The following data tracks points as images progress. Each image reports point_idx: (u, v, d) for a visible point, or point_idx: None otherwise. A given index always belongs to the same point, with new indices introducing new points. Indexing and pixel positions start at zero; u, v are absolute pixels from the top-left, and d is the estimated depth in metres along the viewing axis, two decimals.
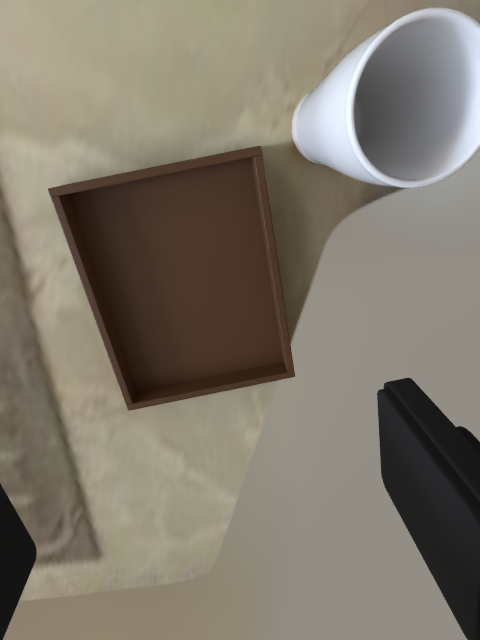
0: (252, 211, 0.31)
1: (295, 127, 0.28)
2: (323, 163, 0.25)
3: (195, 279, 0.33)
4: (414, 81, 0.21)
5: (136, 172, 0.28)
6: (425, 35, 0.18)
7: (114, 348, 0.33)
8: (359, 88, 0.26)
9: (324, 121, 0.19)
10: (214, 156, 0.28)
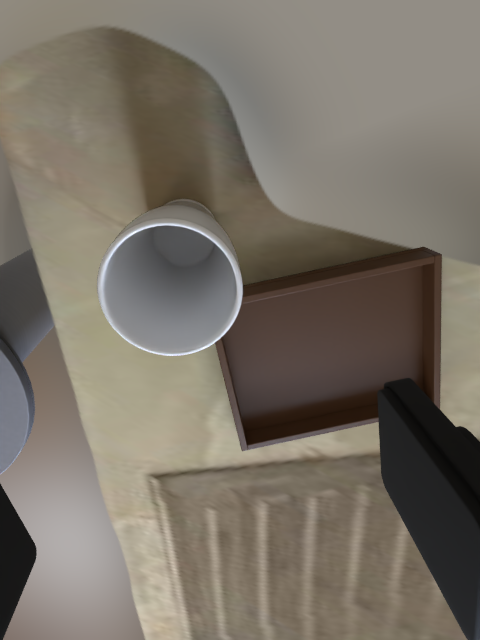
0: None
1: None
2: None
3: (321, 344, 0.36)
4: None
5: (229, 396, 0.35)
6: (113, 263, 0.20)
7: (375, 415, 0.37)
8: None
9: None
10: None
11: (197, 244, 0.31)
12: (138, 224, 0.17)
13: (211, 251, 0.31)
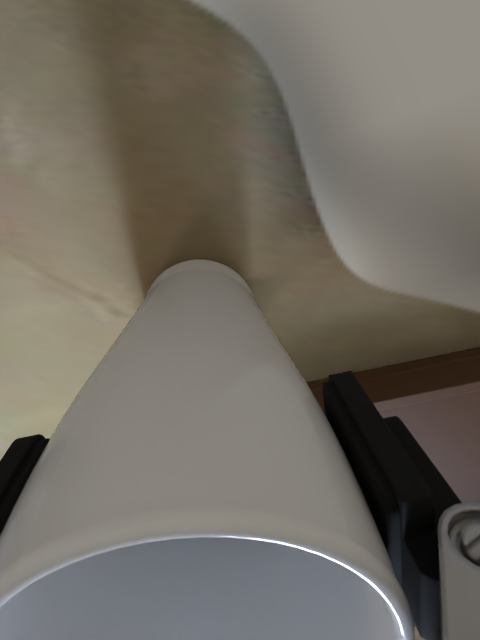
0: None
1: None
2: None
3: None
4: None
5: None
6: None
7: None
8: None
9: None
10: None
11: None
12: (80, 533, 0.05)
13: None
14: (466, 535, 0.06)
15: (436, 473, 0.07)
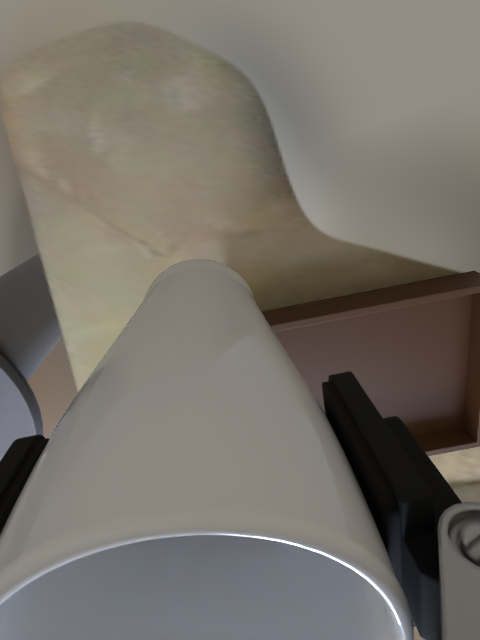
0: None
1: None
2: None
3: (355, 373, 0.33)
4: None
5: None
6: None
7: None
8: None
9: None
10: None
11: None
12: (81, 531, 0.05)
13: None
14: (466, 535, 0.06)
15: (436, 473, 0.07)
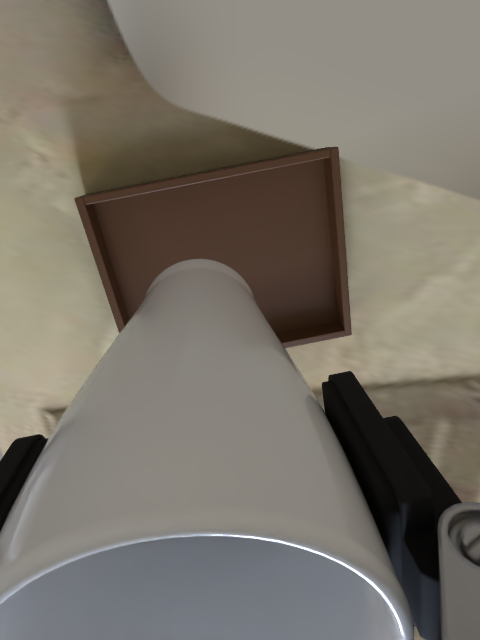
0: (145, 199, 0.30)
1: None
2: None
3: (218, 258, 0.33)
4: None
5: (113, 311, 0.32)
6: None
7: (281, 341, 0.34)
8: None
9: None
10: (90, 243, 0.29)
11: None
12: (79, 531, 0.04)
13: None
14: (466, 535, 0.06)
15: (436, 474, 0.07)
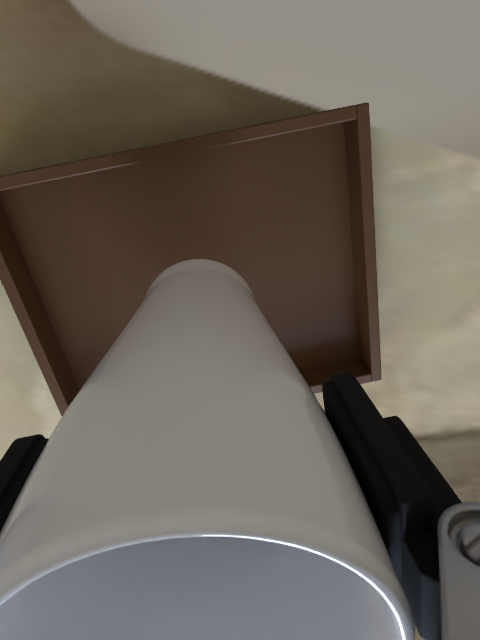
0: (77, 187, 0.20)
1: None
2: None
3: None
4: None
5: (35, 353, 0.22)
6: None
7: None
8: None
9: None
10: None
11: None
12: (79, 532, 0.04)
13: None
14: (466, 535, 0.06)
15: (436, 473, 0.07)
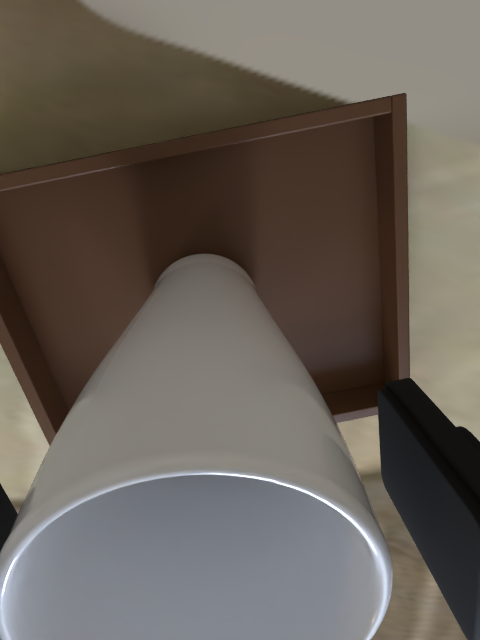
0: (67, 191, 0.18)
1: None
2: None
3: None
4: None
5: (19, 379, 0.19)
6: None
7: None
8: None
9: None
10: None
11: None
12: (106, 470, 0.05)
13: None
14: None
15: None
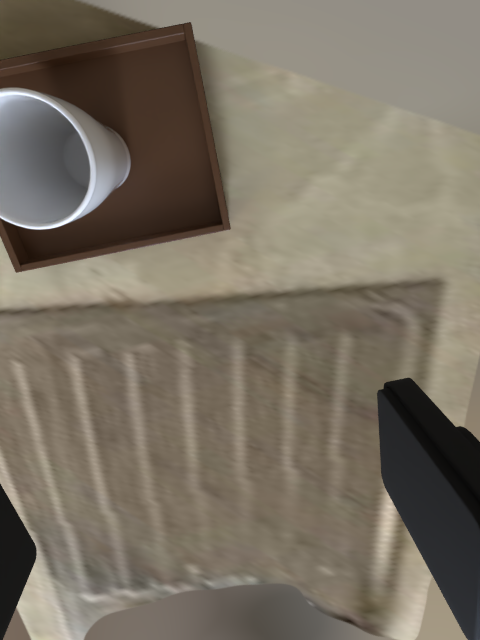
0: (11, 83, 0.31)
1: None
2: (115, 186, 0.28)
3: None
4: (31, 120, 0.24)
5: None
6: None
7: (161, 235, 0.35)
8: (58, 141, 0.30)
9: None
10: None
11: None
12: None
13: None
14: None
15: None
